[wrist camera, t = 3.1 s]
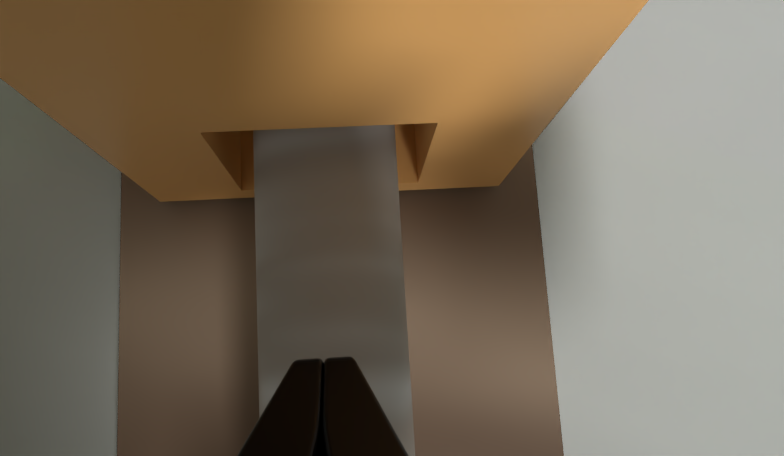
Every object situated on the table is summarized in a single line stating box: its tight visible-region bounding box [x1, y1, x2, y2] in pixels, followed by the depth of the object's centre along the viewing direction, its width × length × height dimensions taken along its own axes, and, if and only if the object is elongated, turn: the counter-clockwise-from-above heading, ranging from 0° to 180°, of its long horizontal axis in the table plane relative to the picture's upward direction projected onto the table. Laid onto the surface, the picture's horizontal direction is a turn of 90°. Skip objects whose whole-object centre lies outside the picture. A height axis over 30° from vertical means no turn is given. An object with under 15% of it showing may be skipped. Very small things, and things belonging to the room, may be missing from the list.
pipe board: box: [117, 125, 564, 456], centre depth 14 cm, size 24×10×6 cm, turn 3°
